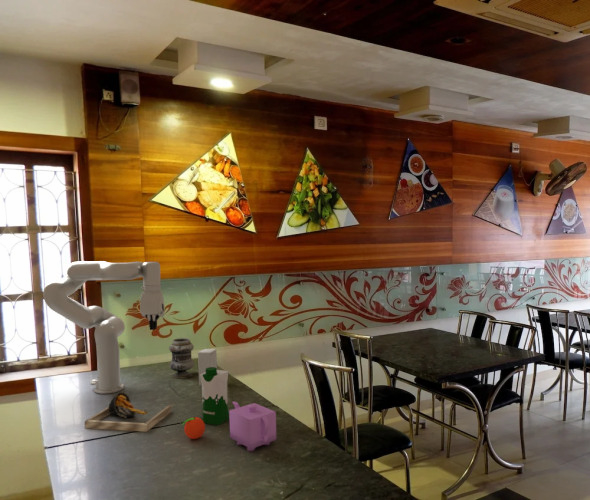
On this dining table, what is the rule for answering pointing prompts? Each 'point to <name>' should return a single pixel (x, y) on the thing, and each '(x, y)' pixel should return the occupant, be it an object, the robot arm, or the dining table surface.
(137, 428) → the serving frame
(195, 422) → the clementine
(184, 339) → the apothecary jar
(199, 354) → the skincare box
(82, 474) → the dining table surface
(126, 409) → the fried shrimp in bowl
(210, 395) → the milk carton
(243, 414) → the teapot
